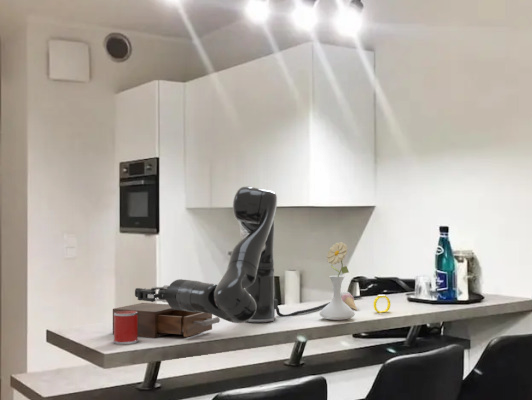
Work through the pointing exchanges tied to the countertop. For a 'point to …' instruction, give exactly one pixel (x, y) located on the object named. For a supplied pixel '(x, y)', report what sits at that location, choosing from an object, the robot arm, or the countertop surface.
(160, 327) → the drawer
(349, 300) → the ice cream cone
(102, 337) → the countertop surface
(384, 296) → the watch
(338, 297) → the flower in vase
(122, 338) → the tin can
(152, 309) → the cabinet
